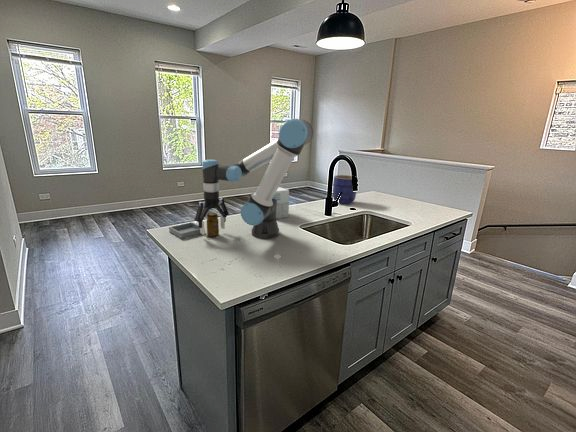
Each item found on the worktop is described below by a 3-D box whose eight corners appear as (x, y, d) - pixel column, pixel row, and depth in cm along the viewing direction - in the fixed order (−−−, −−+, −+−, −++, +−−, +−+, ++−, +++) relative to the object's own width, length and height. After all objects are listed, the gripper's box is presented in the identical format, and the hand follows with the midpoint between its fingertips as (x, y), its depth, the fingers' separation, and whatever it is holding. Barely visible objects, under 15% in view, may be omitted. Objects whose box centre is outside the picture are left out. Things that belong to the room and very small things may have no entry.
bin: (204, 233, 162) (204, 228, 161) (181, 239, 152) (181, 233, 152) (192, 227, 170) (191, 222, 170) (169, 232, 161) (168, 227, 160)
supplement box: (289, 216, 195) (290, 189, 190) (271, 219, 188) (272, 191, 183) (275, 210, 209) (275, 185, 204) (258, 212, 202) (258, 186, 196)
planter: (331, 204, 229) (333, 178, 222) (332, 199, 246) (334, 174, 240) (356, 206, 226) (358, 179, 220) (354, 200, 243) (357, 175, 237)
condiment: (218, 232, 164) (217, 211, 160) (221, 237, 156) (221, 216, 153) (204, 234, 161) (203, 212, 157) (207, 239, 153) (206, 217, 150)
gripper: (226, 186, 162) (227, 224, 168) (185, 192, 145) (188, 234, 152) (234, 188, 157) (235, 227, 164) (193, 195, 140) (196, 238, 147)
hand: (212, 230), depth 158 cm, fingers open, 12 cm apart
